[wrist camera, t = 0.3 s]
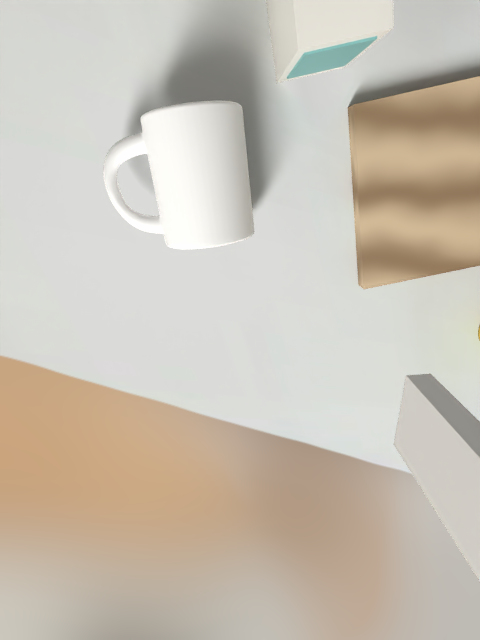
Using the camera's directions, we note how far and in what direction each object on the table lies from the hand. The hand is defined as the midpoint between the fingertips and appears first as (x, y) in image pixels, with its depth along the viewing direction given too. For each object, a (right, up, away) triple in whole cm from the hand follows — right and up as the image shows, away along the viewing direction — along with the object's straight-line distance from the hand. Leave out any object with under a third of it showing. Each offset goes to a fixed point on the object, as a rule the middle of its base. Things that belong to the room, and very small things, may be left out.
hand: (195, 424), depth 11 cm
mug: (-4, +17, +22) cm, 28 cm away
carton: (+7, +27, +18) cm, 33 cm away
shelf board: (+22, +17, +23) cm, 36 cm away
